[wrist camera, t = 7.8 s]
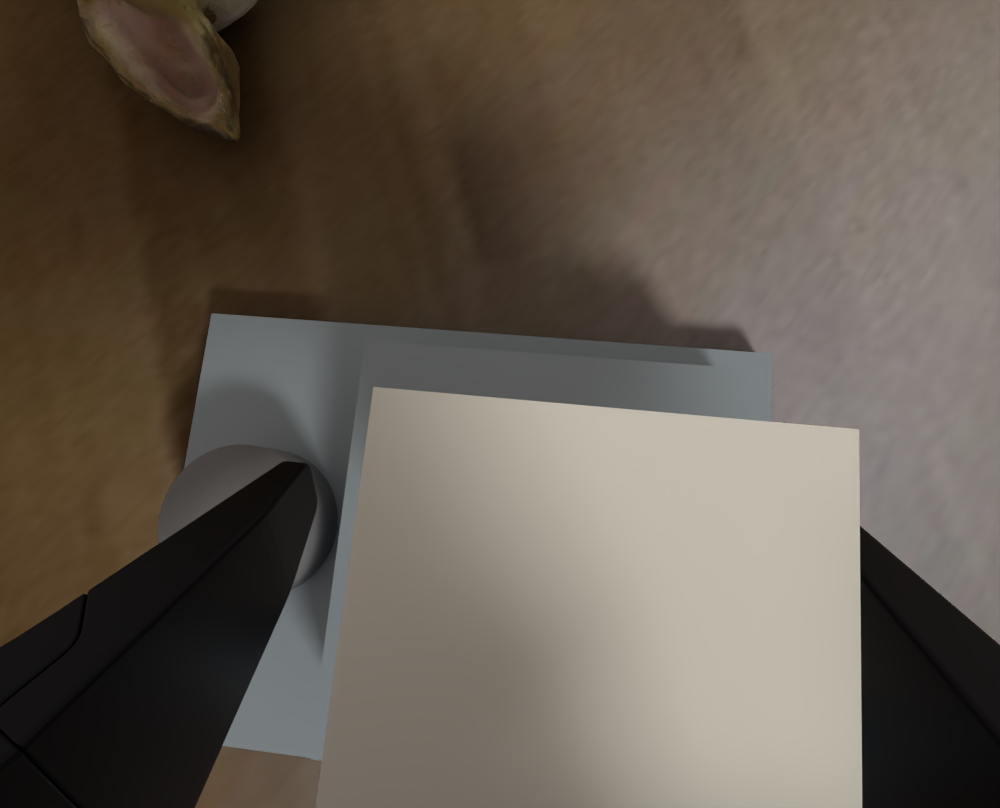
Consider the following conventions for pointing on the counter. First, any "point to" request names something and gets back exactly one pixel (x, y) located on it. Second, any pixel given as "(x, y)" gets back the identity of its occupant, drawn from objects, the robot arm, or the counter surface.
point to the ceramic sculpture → (173, 56)
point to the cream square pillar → (597, 611)
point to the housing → (341, 444)
